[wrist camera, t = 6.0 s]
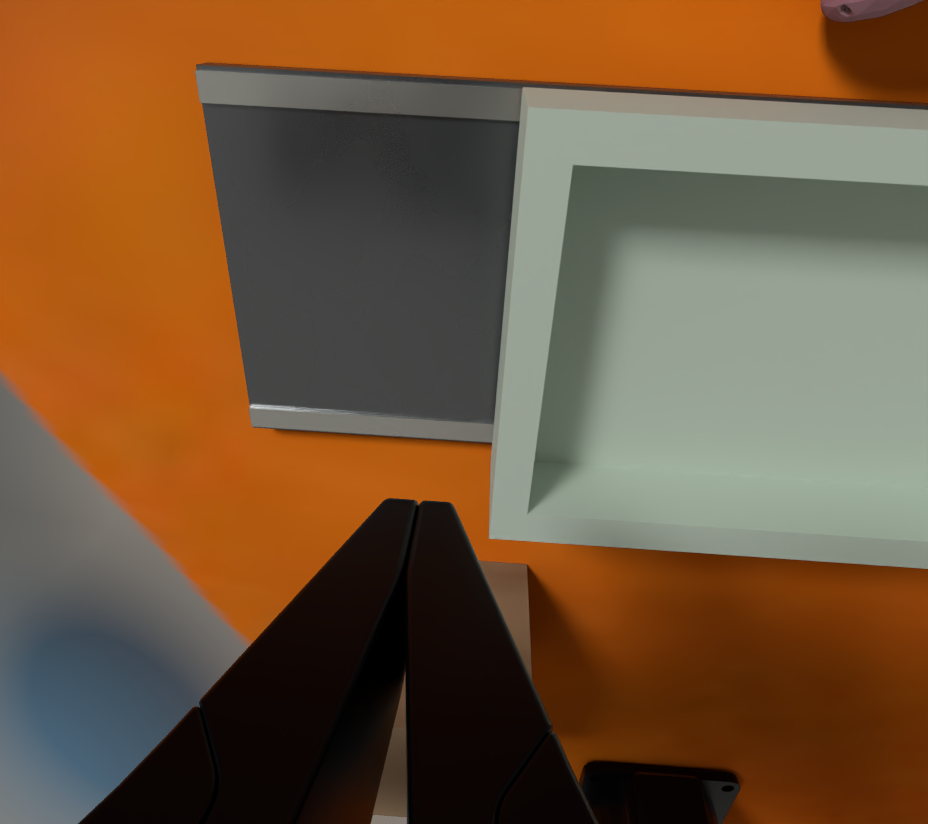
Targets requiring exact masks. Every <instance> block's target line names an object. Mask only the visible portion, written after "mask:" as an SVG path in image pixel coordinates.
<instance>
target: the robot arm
mask: <svg viewBox="0 0 928 824" xmlns="http://www.w3.org/2000/svg"><path fill="white" fill-rule="evenodd" d="M404 677H405V685H406V785H407V824H722V822H723V820H724V819H725V817H726V815H727V813H728V811H729V809H730V807H731V805H732V803H733V801H734V800H735V798H736V796H737V794H738V792H739V790H740V785H739V782H738V778H737V776H736V775H735V774H733V773H728V772H715V771H702V770H688V769H675V768H662V767H648V766H635V765H622V764H609V763H589V764H587V765H585V766H584V767H583V769H582V773H581V777H580V781H579V782H578V780H577V778H576V776H575V774H574V772H573V770H572V768H571V765H570V763H569V761H568V759H567V757H566V754H565V752H564V750H563V748H562V745H561V743H560V741H559V739H558V736H557V735H556V734H555V733H554V732H552V724H551V722H550V719H549V717H548V715H547V713H546V711H545V708H544V706H543V704H542V702H541V699H540V697H539V695H538V693H537V690H536V688H535V686H534V684H533V682H532V679H531V677H530V675H529V673H528V670H527V668H526V666H525V664H524V661H523V659H522V657H521V655H520V652H519V650H518V648H517V646H516V644H515V641H514V639H513V637H512V635H511V632H510V630H509V628H508V626H507V623H506V621H505V619H504V617H503V614H502V612H501V610H500V608H499V606H498V603H497V601H496V599H495V597H494V594H493V592H492V590H491V588H490V585H489V583H488V581H487V579H486V577H485V574H484V572H483V570H482V568H481V565H480V563H479V561H478V559H477V556H476V554H475V552H474V550H473V547H472V545H471V543H470V541H469V539H468V536H467V534H466V532H465V530H464V527H463V525H462V523H461V521H460V518H459V516H458V514H457V512H456V509H455V507H454V506H453V505H452V504H451V503H449V502H438V501H422V502H421V503H420V504H419V505H418V503H417V501H415V500H408V499H393V498H389V499H386V500H384V501H383V502H382V503H381V504H380V505H379V506H378V507H377V509H376V510H375V511H374V512H373V513H372V514H371V515H370V516H369V517H368V518H367V519H366V520H365V522H364V523H363V524H362V525H361V526H360V527H359V528H358V529H357V530H356V531H355V532H354V534H353V535H352V536H351V537H350V538H349V539H348V540H347V541H346V542H345V543H344V544H343V545H342V547H341V548H340V549H339V550H338V551H337V552H336V553H335V554H334V555H333V556H332V557H331V558H330V560H329V561H328V562H327V563H326V564H325V565H324V566H323V567H322V568H321V569H320V570H319V571H318V573H317V574H316V575H315V576H314V577H313V578H312V579H311V580H310V581H309V582H308V583H307V585H306V586H305V587H304V588H303V589H302V590H301V591H300V592H299V593H298V594H297V595H296V596H295V598H294V599H293V600H292V601H291V602H290V603H289V604H288V605H287V606H286V607H285V608H284V609H283V611H282V612H281V613H280V614H279V615H278V616H277V617H276V618H275V619H274V620H273V621H272V622H271V624H270V625H269V626H268V627H267V628H266V629H265V630H264V631H263V632H262V633H261V634H260V636H259V637H258V638H257V639H256V640H255V641H254V642H253V643H252V644H251V645H250V646H249V647H248V649H247V650H246V651H245V652H244V653H243V654H242V655H241V656H240V657H239V658H238V659H237V660H236V662H235V663H234V664H233V665H232V666H231V667H230V668H229V669H228V670H227V671H226V672H225V674H224V675H223V676H222V677H221V678H220V679H219V680H218V681H217V682H216V683H215V684H214V685H213V686H212V688H211V689H210V690H209V691H208V692H207V693H206V694H205V695H204V696H203V697H202V698H201V700H200V702H199V705H200V708H199V707H197V706H195V707H193V708H192V709H191V710H190V711H189V712H188V713H187V714H186V715H185V716H184V717H183V718H182V720H181V721H180V722H179V723H178V724H177V725H176V726H175V727H174V728H173V729H172V731H171V732H170V733H169V734H168V735H167V736H166V737H165V738H164V739H163V740H162V741H161V742H160V743H159V744H158V745H157V746H156V747H155V748H154V749H153V750H152V751H151V753H150V754H149V755H148V756H147V757H146V758H145V759H144V760H143V761H142V762H141V763H140V764H139V765H138V766H137V767H136V768H135V769H134V770H133V771H132V772H131V773H130V774H129V775H128V776H127V777H126V778H125V779H124V780H123V782H121V784H120V785H119V786H118V787H116V788H115V789H114V790H113V791H112V792H111V793H110V794H109V795H108V796H107V797H106V798H105V799H104V800H103V801H102V802H101V803H99V804H98V805H97V806H96V807H95V808H94V809H93V810H92V811H91V812H90V813H89V814H88V815H87V816H86V817H85V818H84V819H83V820H82V821H80V823H78V824H370V823H371V820H372V815H373V811H374V807H375V803H376V798H377V794H378V790H379V786H380V782H381V777H382V773H383V769H384V765H385V760H386V756H387V752H388V748H389V744H390V739H391V735H392V731H393V727H394V722H395V718H396V714H397V710H398V706H399V701H400V697H401V692H402V687H403V682H404Z"/></svg>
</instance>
